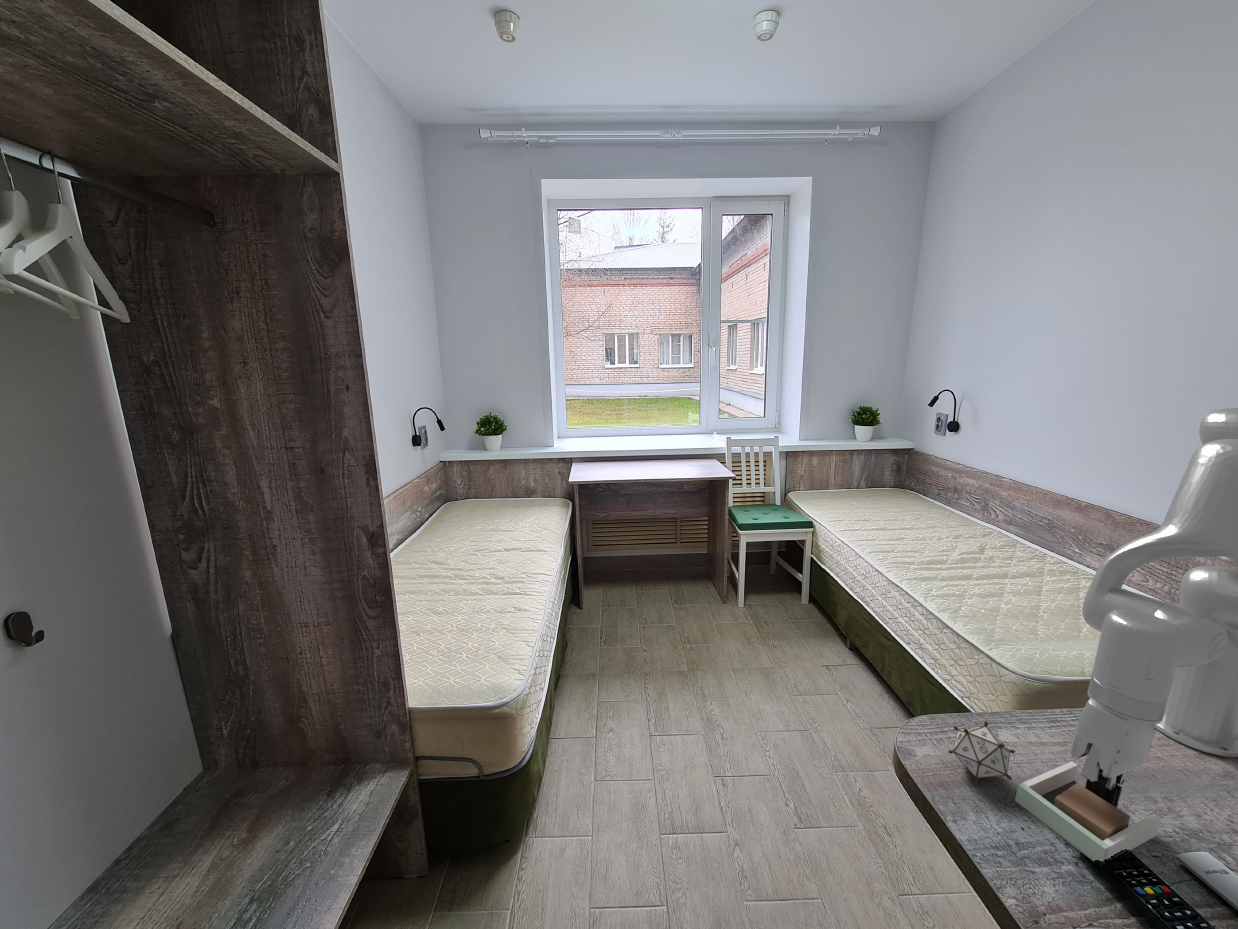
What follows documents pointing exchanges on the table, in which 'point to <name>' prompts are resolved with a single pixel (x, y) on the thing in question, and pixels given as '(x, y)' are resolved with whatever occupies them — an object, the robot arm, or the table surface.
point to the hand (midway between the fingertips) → (1099, 802)
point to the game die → (981, 752)
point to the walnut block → (1091, 812)
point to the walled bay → (1069, 828)
